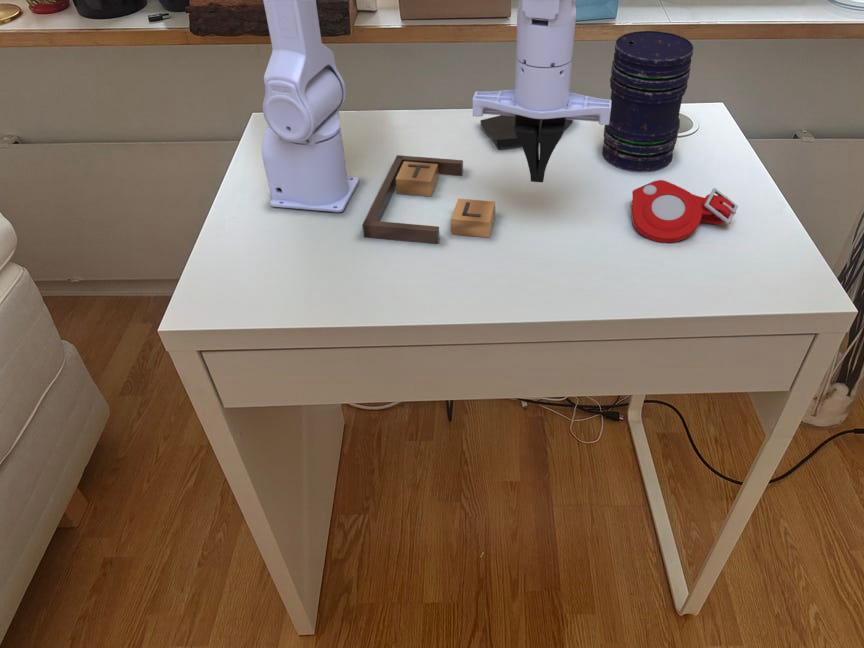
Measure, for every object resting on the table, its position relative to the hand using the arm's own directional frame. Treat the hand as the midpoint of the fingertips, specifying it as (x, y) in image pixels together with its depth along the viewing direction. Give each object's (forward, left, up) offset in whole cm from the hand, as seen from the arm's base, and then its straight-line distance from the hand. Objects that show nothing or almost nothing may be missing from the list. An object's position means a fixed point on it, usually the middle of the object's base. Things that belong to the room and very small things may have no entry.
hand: (537, 177), depth 84 cm
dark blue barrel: (+12, +21, -7) cm, 25 cm away
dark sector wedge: (-4, +25, -7) cm, 26 cm away
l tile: (-7, 0, -7) cm, 10 cm away
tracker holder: (+17, +4, -7) cm, 19 cm away
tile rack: (-15, +4, -7) cm, 17 cm away
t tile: (-16, +8, -7) cm, 19 cm away
